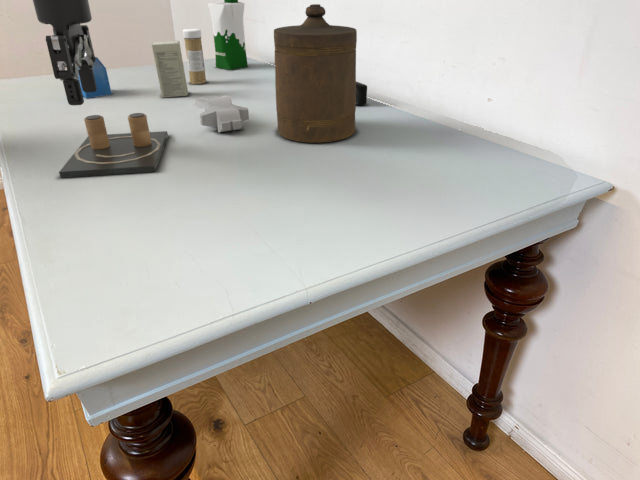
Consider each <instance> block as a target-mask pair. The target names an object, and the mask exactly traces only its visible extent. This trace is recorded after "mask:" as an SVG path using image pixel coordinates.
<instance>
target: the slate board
mask: <svg viewBox="0 0 640 480" xmlns="http://www.w3.org/2000/svg"><path fill="white" fill-rule="evenodd" d="M149 132H150V137H151V144H150V145H148V146H145V147H136V146H134V145H133V140H132V135H131V132H127V133H126V132H125V133H124V132H123V133H110V134H109V133H107V135H108V139H109V143H110V146H109V147H108V148H105V149H92V148H91V145H90V141H89V137H88V136H87V137H86V138H85V139H84V140H83V142H82V143H81V144H80V145H79V147H78V148H77V149H76V150H75V152H74V153H73V154H72V155H71V157H70V158H69V159H68V160H67V161H66V162H65V164H64V165H63V166H62V167H61V169H60V170H59V171H58V174H59V177H60V178H61V179H66V178H80V177H82V178H83V177H94V176H95V177H97V176H114V175H127V174H143V173H145V174H146V173H155V172H156V171H157V168H158V165H159V163H160V160H161V156H162V155H163V152H164V148H165V145H166V143H167V140H168V138H169V134H168V131H167V130H163V131H161V130H160V131H149Z"/></svg>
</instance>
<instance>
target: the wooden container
mask: <svg viewBox="0 0 640 480" xmlns="http://www.w3.org/2000/svg"><path fill="white" fill-rule="evenodd" d="M304 12H305V16H306V19H304V21H303V23H301V24H299V25H297V24H296V25H288V26H287V25H286V26H280V27H277V28H274V29H273V43H274V77H275V78H274V80H275V81H274V82H275V84H274V86H275V87H274V88H275V107H276V121H277V132H278V134H279V135H280V136H281V137H283V138H284V139H288V140H290V141H293V142H299V143H309V144H320V143H321V144H322V143H323V144H324V143H332V142H336V141H342V140H345V139H347V138H350V137H351V136H352V135H354V134H355V132H356V109H357V107H356V106H357V105H356V82H357V42H358V41H357V40H358V33H357V32H358V31H357V29H356V28H354V27H351V26H344V25H336V24H335V25H333V24H329V23H328V22H327V21H326V20H325V17H324V16H325V15H326V8H324V7H323V6H321V4H319V3H316V4H315V3H314V4H313V3H312V4H310V5H309V6H307V7H306V8H305V11H304Z"/></svg>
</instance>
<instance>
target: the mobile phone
mask: <svg viewBox="0 0 640 480" xmlns="http://www.w3.org/2000/svg"><path fill="white" fill-rule="evenodd" d="M367 98H368V85H367V84H364V83H361V82H359V81H356V106H364V105H366V104H367V102H368V100H367Z"/></svg>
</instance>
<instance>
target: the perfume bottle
mask: <svg viewBox="0 0 640 480" xmlns="http://www.w3.org/2000/svg"><path fill="white" fill-rule="evenodd" d="M95 58H96V60H95V62H93V63H94V68H91V69H93V73H94V77H95V82H96V86H97V90H96V91H95V92H84V91H83V89H82V85H81V81H80V77H79V79H78V80H79V82H80V86H81V90H82V95H83V98H85V99H91V98H98V97H102V96H110V95H113V93H112V88H111V85H110V80H109V76H108V71H107V68H106V66H105V65H104V64H103V62H102V61H101V60H100V58H98V56H95ZM78 70H79V69H78ZM78 76H79V72H78Z"/></svg>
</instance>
